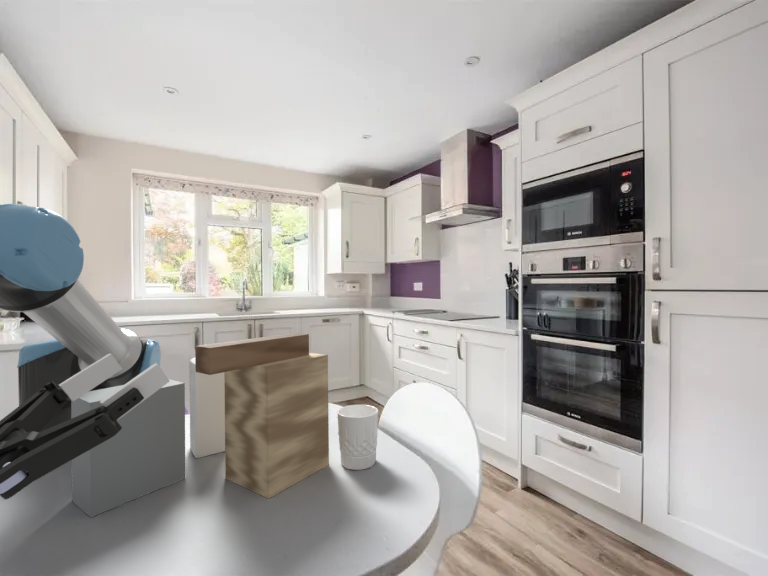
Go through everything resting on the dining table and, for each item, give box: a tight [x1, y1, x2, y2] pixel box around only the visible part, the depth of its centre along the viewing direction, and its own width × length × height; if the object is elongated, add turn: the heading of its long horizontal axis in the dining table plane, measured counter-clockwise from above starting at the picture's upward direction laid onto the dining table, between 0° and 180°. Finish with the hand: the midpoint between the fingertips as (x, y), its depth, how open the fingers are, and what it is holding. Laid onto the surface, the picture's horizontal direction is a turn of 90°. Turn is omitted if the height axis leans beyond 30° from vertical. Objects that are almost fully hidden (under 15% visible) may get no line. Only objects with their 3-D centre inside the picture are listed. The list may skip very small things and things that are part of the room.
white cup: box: [336, 404, 379, 471], centre depth 73 cm, size 8×8×10 cm
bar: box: [194, 332, 310, 375], centre depth 65 cm, size 4×20×4 cm, turn 145°
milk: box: [189, 343, 225, 459], centre depth 79 cm, size 6×6×22 cm
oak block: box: [224, 352, 330, 499], centre depth 70 cm, size 12×14×21 cm
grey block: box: [71, 378, 186, 518], centre depth 64 cm, size 8×14×17 cm, turn 145°
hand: (137, 366), depth 50 cm, fingers open, 13 cm apart
